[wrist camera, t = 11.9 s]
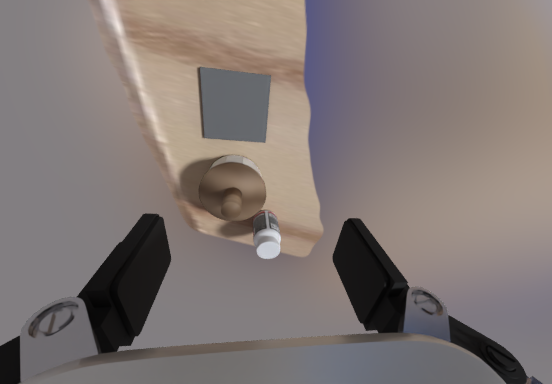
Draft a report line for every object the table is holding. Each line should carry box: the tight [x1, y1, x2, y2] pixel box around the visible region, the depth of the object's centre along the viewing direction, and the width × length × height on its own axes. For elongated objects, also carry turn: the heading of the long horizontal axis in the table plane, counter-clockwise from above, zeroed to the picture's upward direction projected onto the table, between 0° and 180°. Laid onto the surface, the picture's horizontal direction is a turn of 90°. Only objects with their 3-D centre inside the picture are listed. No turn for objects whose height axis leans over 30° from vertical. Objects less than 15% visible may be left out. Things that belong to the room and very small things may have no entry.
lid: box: [199, 162, 266, 221], centre depth 35 cm, size 12×12×6 cm
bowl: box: [210, 155, 263, 179], centre depth 40 cm, size 11×11×5 cm
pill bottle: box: [253, 210, 281, 259], centre depth 44 cm, size 6×6×10 cm
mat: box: [200, 67, 271, 143], centre depth 35 cm, size 11×11×1 cm
